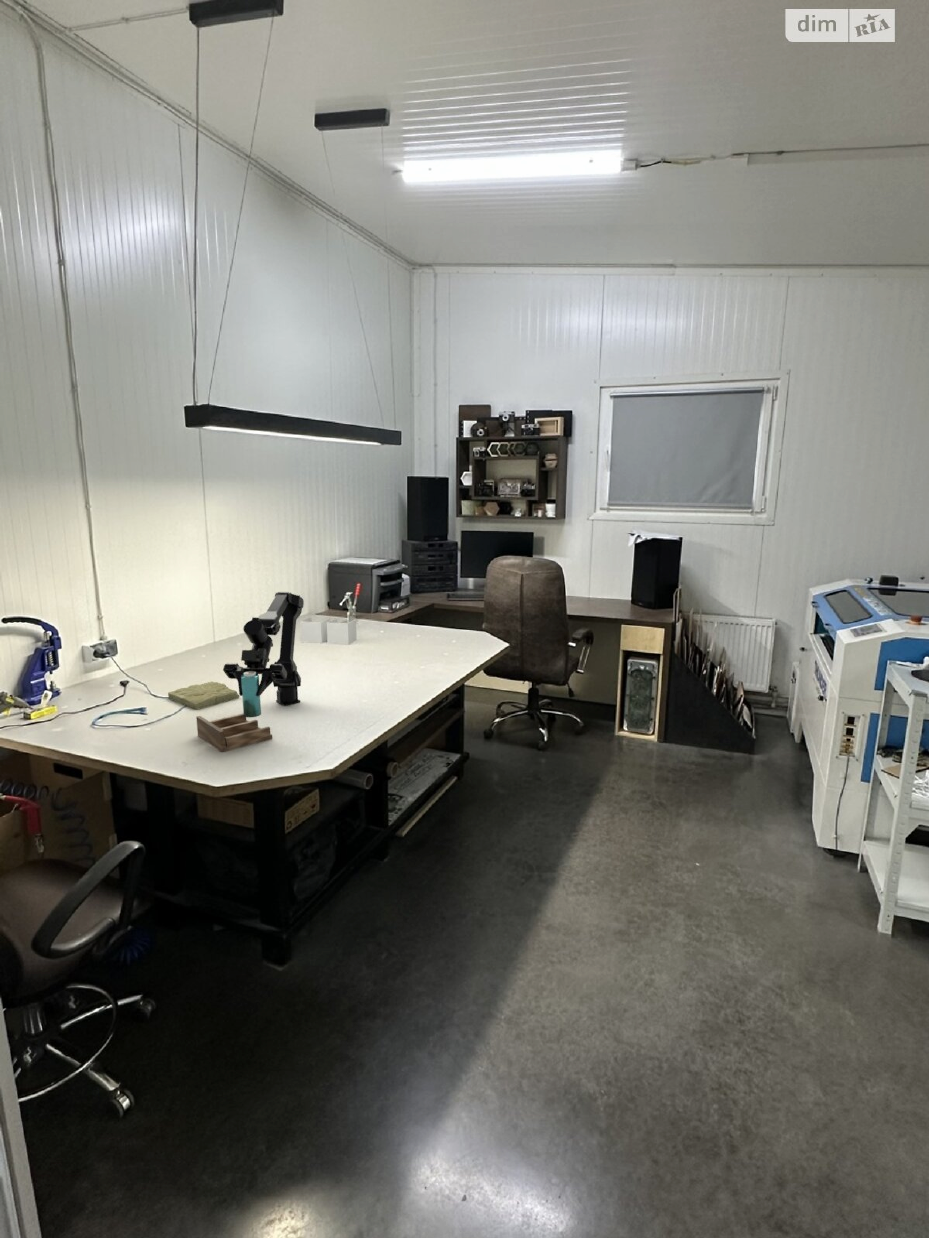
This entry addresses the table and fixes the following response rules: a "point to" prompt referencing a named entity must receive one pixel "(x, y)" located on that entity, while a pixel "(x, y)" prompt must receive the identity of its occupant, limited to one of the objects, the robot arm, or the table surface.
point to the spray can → (250, 694)
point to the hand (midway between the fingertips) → (249, 695)
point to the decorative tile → (203, 695)
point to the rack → (231, 732)
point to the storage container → (328, 631)
